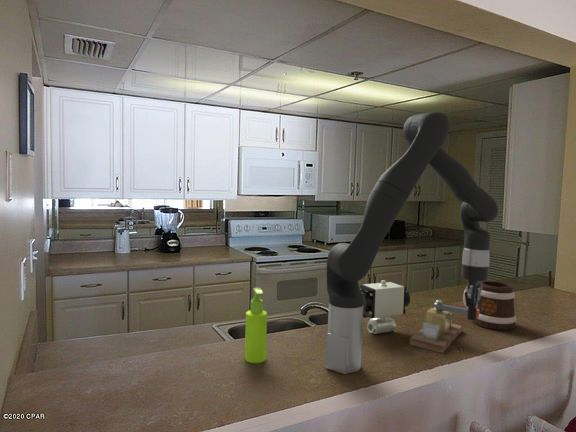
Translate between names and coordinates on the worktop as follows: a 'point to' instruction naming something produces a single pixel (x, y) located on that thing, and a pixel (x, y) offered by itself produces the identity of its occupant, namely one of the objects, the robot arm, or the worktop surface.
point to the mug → (495, 306)
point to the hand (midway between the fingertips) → (471, 319)
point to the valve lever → (451, 308)
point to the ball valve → (383, 304)
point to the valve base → (442, 340)
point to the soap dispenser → (256, 330)
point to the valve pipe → (436, 324)
